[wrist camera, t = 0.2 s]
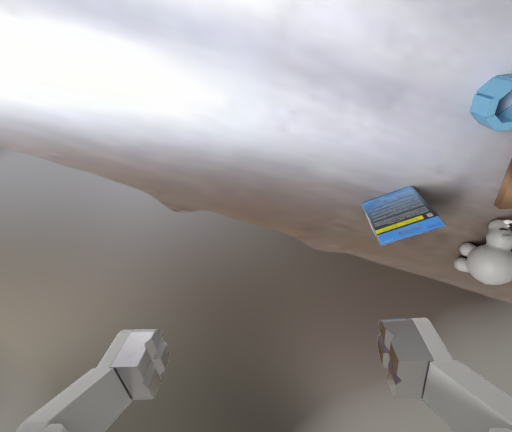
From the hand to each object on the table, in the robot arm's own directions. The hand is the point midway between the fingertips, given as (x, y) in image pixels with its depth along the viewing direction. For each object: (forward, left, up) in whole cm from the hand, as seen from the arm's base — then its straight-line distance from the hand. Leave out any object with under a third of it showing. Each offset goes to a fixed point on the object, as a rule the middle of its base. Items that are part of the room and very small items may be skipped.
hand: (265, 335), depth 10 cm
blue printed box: (+19, +19, -39) cm, 47 cm away
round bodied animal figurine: (+28, +37, -39) cm, 61 cm away
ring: (+3, +32, -39) cm, 50 cm away
